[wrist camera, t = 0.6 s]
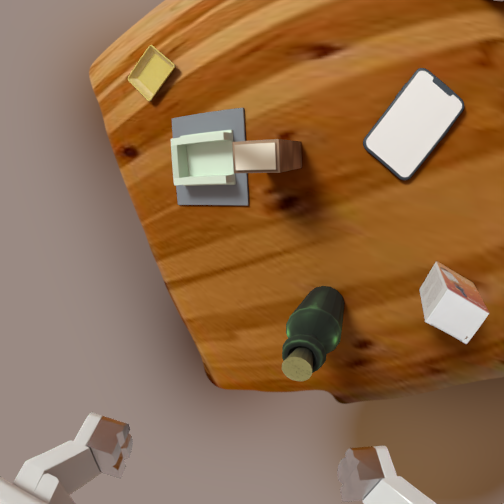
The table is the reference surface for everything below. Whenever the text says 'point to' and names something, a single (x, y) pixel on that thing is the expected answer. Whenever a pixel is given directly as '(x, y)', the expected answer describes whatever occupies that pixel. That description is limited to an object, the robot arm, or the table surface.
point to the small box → (452, 303)
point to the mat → (235, 122)
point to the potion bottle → (312, 332)
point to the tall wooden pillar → (266, 156)
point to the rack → (203, 159)
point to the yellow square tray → (151, 72)
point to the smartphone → (413, 124)
